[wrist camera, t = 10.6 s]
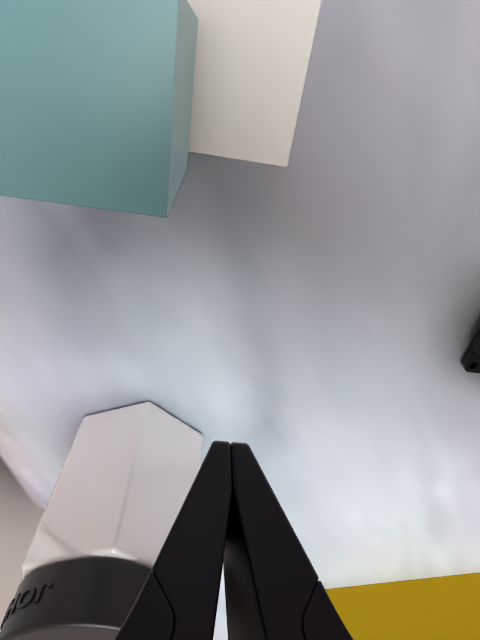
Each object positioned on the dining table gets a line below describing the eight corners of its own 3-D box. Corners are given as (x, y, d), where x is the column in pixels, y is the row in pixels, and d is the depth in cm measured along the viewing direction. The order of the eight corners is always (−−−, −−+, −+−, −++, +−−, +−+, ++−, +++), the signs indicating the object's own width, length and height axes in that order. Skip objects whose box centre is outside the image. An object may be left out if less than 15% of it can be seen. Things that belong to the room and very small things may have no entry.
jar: (82, 388, 25) (-20, 611, 15) (212, 410, 26) (201, 629, 16) (76, 479, 29) (-5, 697, 19) (187, 493, 31) (166, 706, 20)
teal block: (198, 19, 14) (178, -14, 9) (187, 169, 17) (166, 217, 12) (48, -9, 14) (-74, -62, 8) (61, 150, 17) (-25, 191, 11)
